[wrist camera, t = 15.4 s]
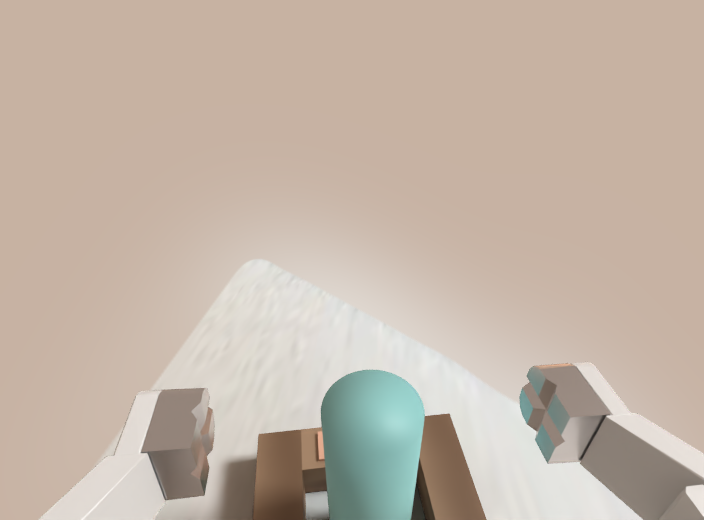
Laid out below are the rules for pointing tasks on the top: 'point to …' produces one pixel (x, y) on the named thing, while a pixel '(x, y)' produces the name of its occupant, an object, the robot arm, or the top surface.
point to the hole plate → (310, 475)
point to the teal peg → (371, 446)
